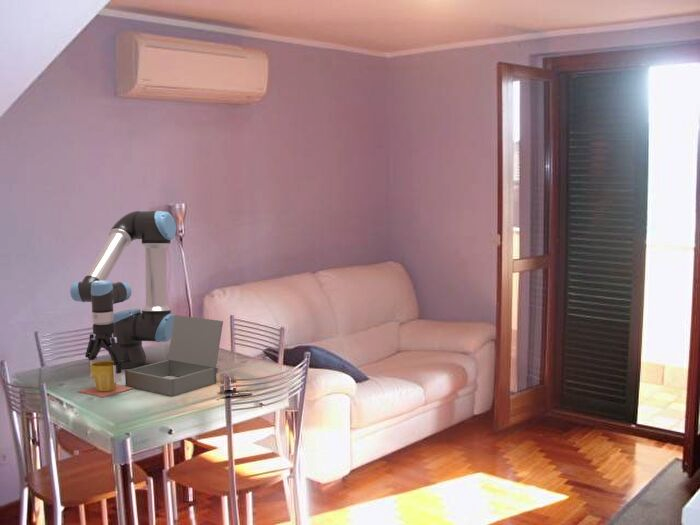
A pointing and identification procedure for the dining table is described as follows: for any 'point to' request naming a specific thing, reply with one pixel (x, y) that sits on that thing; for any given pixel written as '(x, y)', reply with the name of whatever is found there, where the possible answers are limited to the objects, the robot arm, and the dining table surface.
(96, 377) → the plant pot
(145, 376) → the case
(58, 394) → the dining table surface
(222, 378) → the architectural model
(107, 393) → the mat
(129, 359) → the robot arm
